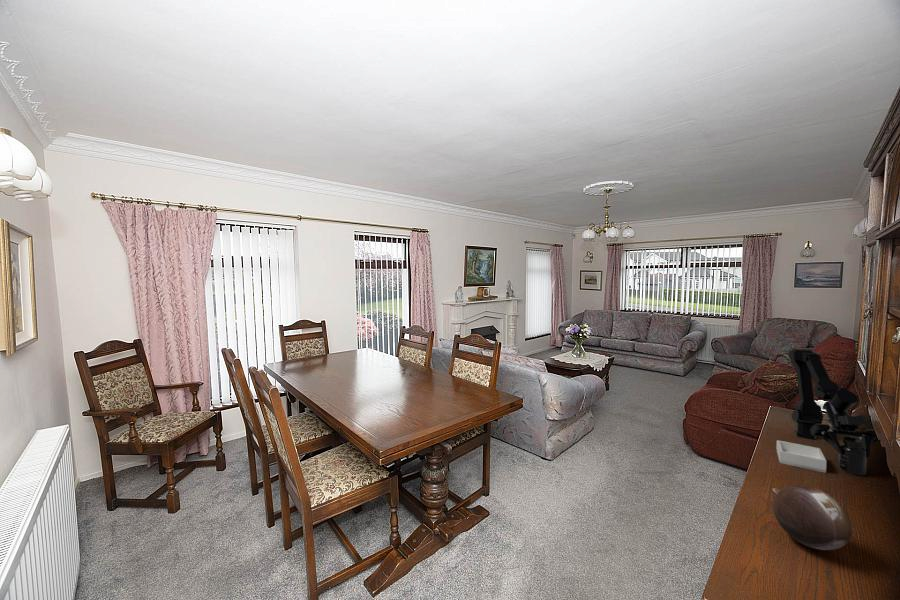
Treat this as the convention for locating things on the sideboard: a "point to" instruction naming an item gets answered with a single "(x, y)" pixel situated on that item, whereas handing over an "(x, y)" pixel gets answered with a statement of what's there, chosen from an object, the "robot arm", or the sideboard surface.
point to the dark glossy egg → (812, 517)
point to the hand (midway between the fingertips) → (854, 455)
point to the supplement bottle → (853, 456)
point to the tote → (801, 456)
